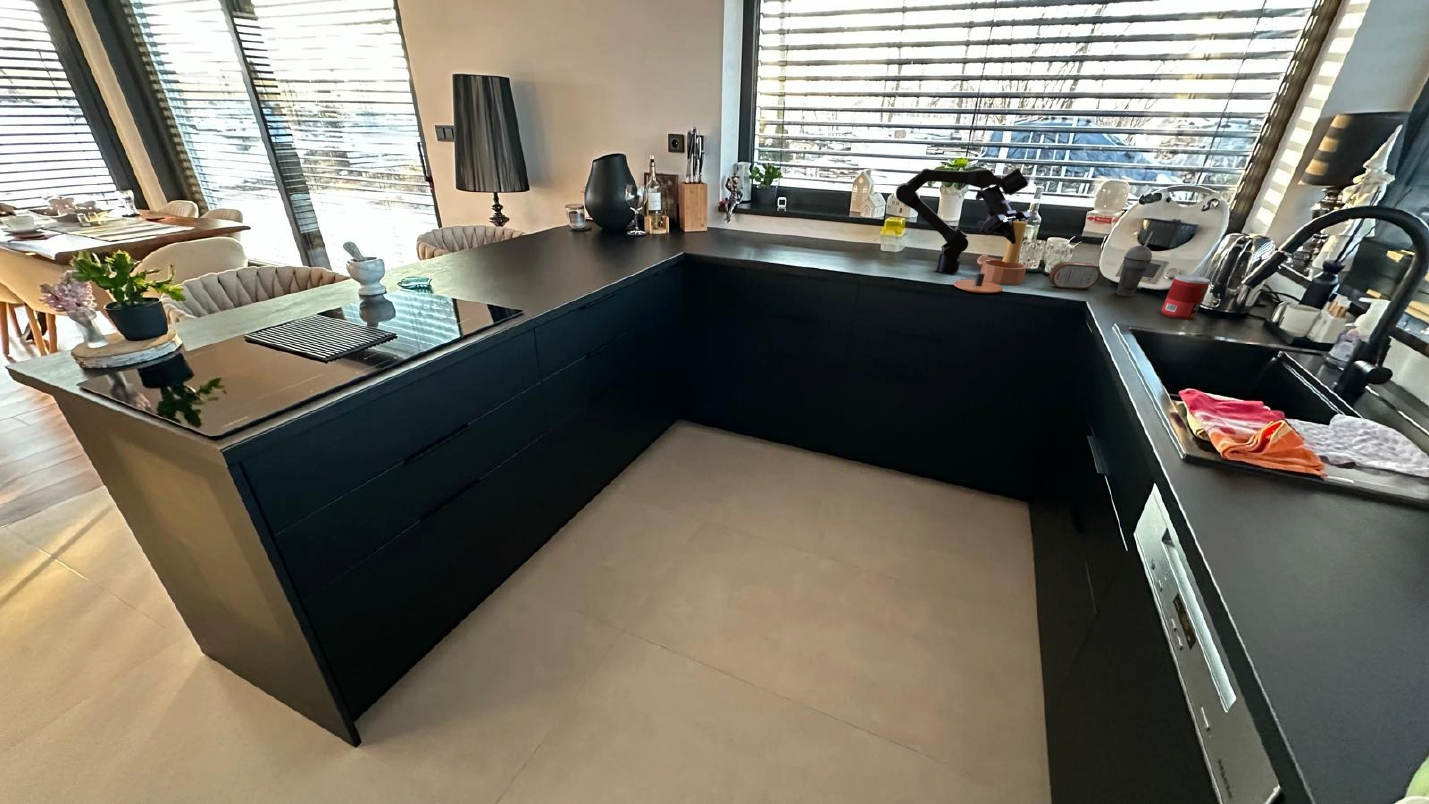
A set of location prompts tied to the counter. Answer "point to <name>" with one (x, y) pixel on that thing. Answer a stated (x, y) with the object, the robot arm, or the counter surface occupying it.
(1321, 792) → the counter surface
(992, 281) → the pot
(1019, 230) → the eggroll
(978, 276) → the lid
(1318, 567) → the counter surface
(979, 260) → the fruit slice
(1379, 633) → the counter surface
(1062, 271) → the tin
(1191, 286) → the canned food
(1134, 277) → the beverage cup
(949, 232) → the robot arm
